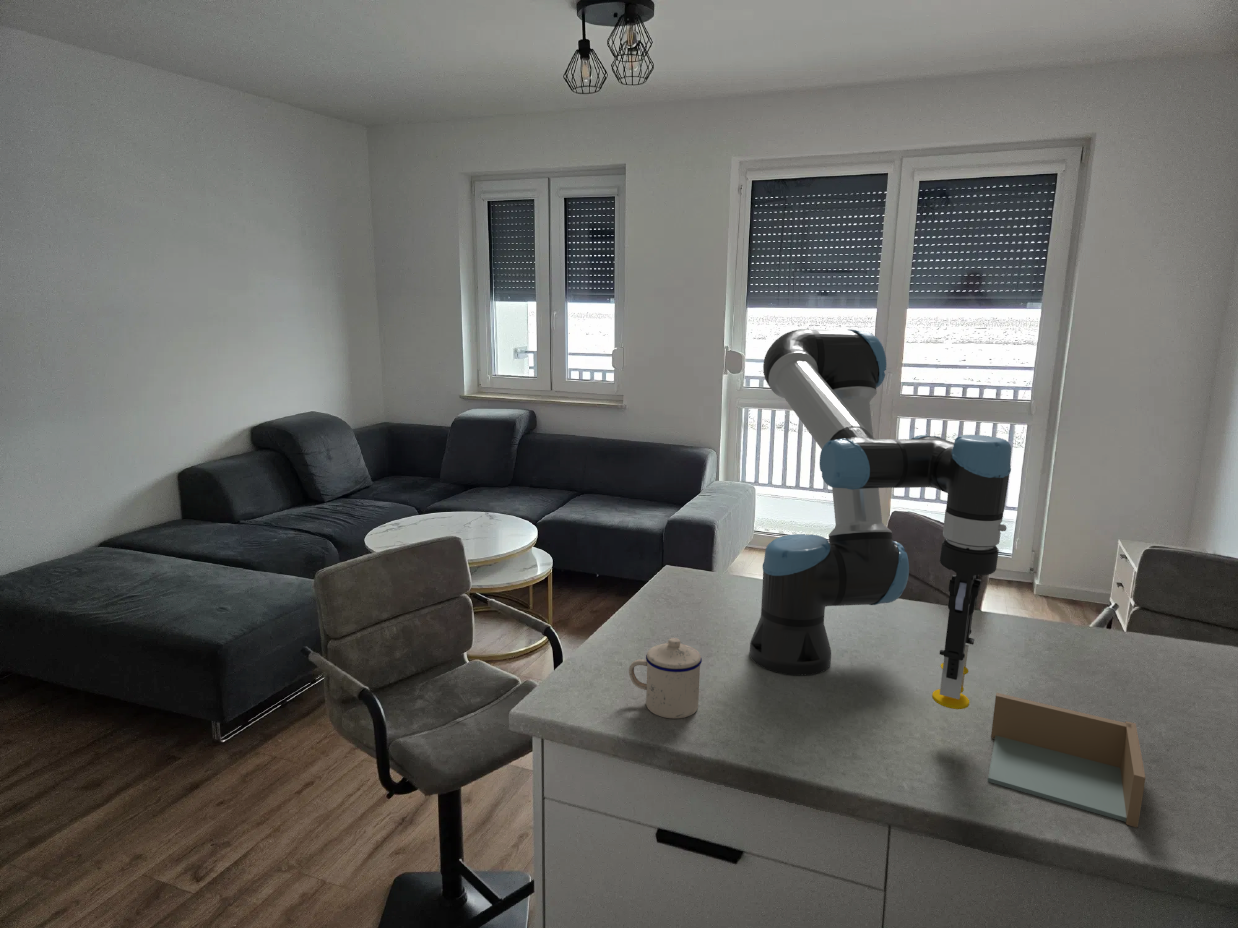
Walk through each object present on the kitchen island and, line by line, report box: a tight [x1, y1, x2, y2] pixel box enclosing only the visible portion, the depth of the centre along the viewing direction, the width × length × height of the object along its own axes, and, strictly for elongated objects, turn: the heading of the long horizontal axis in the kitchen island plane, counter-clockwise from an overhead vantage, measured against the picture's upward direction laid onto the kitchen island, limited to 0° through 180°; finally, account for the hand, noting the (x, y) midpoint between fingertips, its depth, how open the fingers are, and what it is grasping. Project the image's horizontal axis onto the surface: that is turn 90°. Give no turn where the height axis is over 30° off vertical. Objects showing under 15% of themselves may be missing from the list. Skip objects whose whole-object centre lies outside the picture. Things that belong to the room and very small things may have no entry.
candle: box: [931, 662, 970, 710], centre depth 111 cm, size 5×5×16 cm
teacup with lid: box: [628, 637, 703, 719], centre depth 121 cm, size 12×9×12 cm
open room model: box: [987, 692, 1146, 828], centre depth 104 cm, size 18×15×7 cm
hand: (951, 688), depth 112 cm, fingers closed on candle, 4 cm apart
